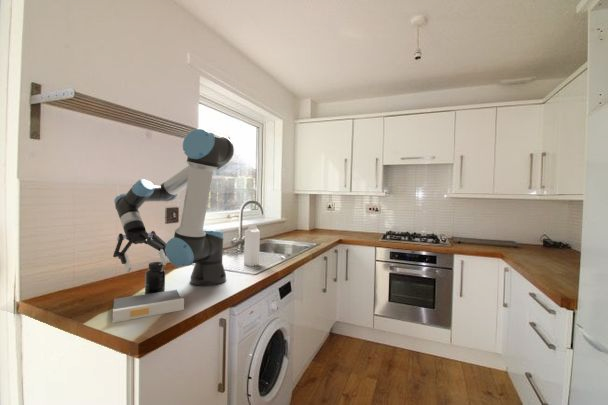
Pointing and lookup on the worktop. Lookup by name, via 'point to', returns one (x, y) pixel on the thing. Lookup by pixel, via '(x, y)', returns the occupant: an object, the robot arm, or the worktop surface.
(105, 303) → the worktop surface
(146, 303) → the open storage tray
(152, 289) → the supplement bottle
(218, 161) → the robot arm
